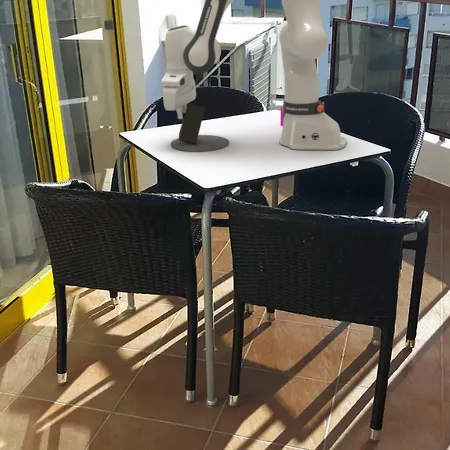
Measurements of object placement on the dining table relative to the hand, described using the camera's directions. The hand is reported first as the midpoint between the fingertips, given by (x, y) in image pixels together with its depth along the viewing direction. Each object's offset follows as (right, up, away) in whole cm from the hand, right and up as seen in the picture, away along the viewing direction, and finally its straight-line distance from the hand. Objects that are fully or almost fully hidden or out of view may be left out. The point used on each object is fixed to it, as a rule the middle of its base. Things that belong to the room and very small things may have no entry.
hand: (181, 118), depth 216 cm
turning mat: (+6, -9, +1) cm, 11 cm away
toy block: (+42, +2, +25) cm, 49 cm away
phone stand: (+2, -7, +2) cm, 8 cm away
